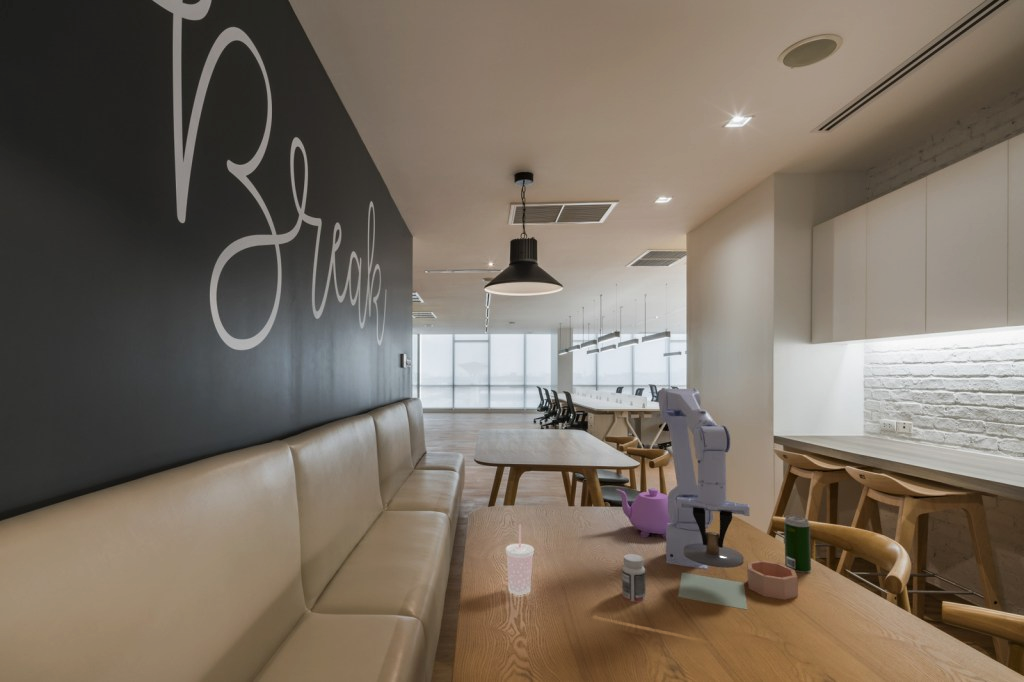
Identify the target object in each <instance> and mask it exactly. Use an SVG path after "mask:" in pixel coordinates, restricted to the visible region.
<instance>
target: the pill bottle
mask: <svg viewBox="0 0 1024 682" xmlns="http://www.w3.org/2000/svg"><path fill="white" fill-rule="evenodd" d="M621 567H622V570H621V580H622V581H621V582H622V584H621V585H622V587H621V590H622V591H621V592H622V593H621V594H622V597H623V598H624V599H625V600H626V601H627V600H628V601H630V602H636V603H637V602H638V603H639V602H643V601H645V600H646V598H647V597H646V568H645V567H644V558H643V556H641V555H639V554H636V553H635V554H634V553H628V554H624V556H623V565H622V566H621Z"/></svg>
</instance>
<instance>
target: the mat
mask: <svg viewBox="0 0 1024 682" xmlns="http://www.w3.org/2000/svg"><path fill="white" fill-rule="evenodd" d="M677 598H683V599H688V600H693V601H696V602H697V601H698V602H704V603H709V604H715V605H719V606H725V607H731V608H736V609H739V610H740V609H741V610H748V606H747V605H748V604H747V598H746V591H745V582H740V581H736V580H729V579H724V578H718V577H711V576H705V575H700V574H693V573H689V572H681V576H680V583H679V589H678V593H677Z"/></svg>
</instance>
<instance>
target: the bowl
mask: <svg viewBox="0 0 1024 682" xmlns="http://www.w3.org/2000/svg"><path fill="white" fill-rule="evenodd" d="M746 565H747V566H746V568H747V569H746V571H747V572H746V573H747V575H746V576H747V577H746V578H747V584H748V585H747V586H748V589H749V590H751V591H753V592H755V593H757V594H759V595H761V596H763V597H767V598H773V599H779V600H789V599H794V598H797V597H799V586H798V584H799V583H798V582H799V581H798V580H799V579H798V575H797V573H796V571H795V570H794V569H791V568H789V567H787V566H785V565H784V564H782V563H780V562H775V561H774V562H773V561H767V560H755V561H754V560H753V561H749V562H747V563H746Z"/></svg>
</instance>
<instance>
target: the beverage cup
mask: <svg viewBox="0 0 1024 682" xmlns="http://www.w3.org/2000/svg"><path fill="white" fill-rule="evenodd" d="M534 551H535V548H534V546H532V545H530V544H528V543H522V524H518V543H511V544H509V545H507V546H506V547H505V553H506V556H507V557H506V561H507V583H508V592H509V591H510V592H511V593H513V594H516V595H522V594H527V593H529V592H530V593H531V588H532V587H531V585H532V584H531V582H532V572H533V571H532V569H533V557H534V556H533V555H534V553H535V552H534ZM530 593H529V594H530Z"/></svg>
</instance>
